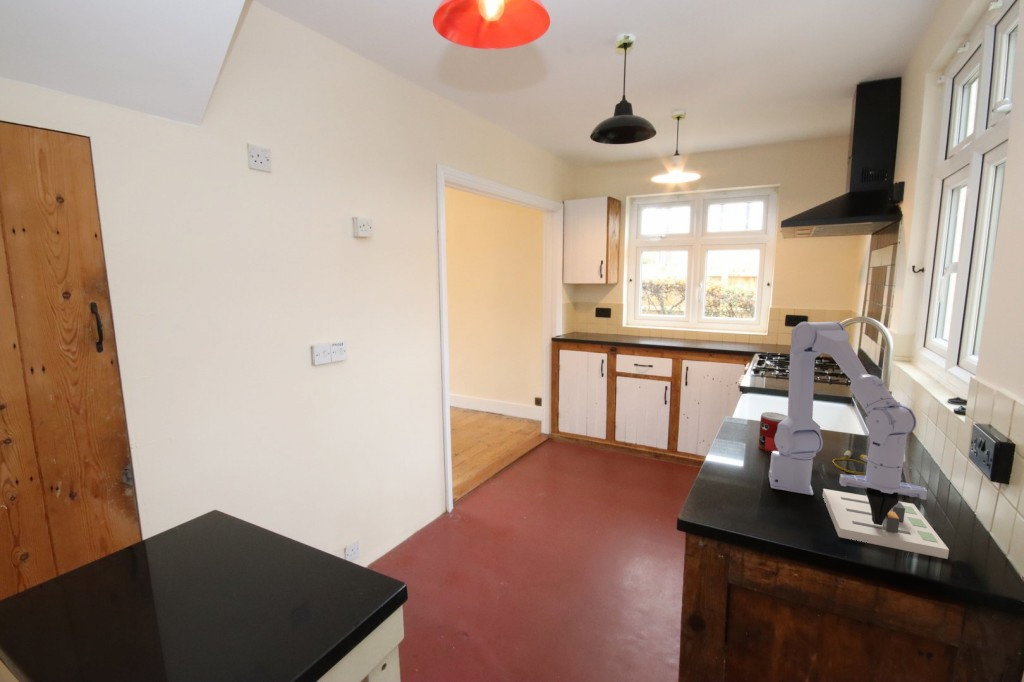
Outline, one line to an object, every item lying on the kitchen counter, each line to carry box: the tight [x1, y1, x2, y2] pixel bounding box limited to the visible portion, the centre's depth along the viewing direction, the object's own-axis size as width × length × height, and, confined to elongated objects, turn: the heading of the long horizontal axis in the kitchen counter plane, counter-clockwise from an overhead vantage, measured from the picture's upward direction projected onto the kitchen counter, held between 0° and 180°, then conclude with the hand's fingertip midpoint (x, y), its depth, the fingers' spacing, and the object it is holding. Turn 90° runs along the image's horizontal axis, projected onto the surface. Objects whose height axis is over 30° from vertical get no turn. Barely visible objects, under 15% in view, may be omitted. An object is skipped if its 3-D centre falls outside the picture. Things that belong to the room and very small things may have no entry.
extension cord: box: [832, 449, 869, 476], centre depth 137 cm, size 12×16×2 cm
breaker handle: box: [882, 511, 900, 533], centre depth 99 cm, size 2×3×3 cm, turn 155°
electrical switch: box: [900, 451, 915, 498], centre depth 122 cm, size 9×5×9 cm, turn 141°
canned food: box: [758, 411, 788, 453], centre depth 148 cm, size 8×8×11 cm
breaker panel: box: [822, 488, 950, 560], centre depth 105 cm, size 18×20×5 cm
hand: (876, 522), depth 100 cm, fingers closed
